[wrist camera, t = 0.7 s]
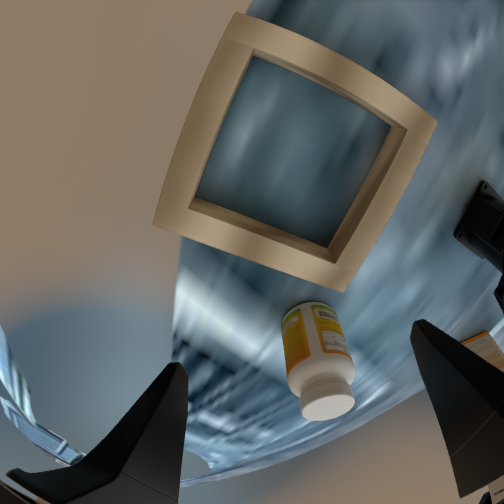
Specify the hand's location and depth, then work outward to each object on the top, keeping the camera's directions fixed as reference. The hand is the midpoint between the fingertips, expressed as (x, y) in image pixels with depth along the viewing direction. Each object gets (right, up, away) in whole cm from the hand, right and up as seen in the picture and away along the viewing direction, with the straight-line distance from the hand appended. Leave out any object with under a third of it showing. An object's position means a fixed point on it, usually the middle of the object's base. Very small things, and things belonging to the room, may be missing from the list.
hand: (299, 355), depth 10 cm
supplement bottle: (+4, -3, +16) cm, 17 cm away
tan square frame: (+1, +10, +9) cm, 14 cm away
